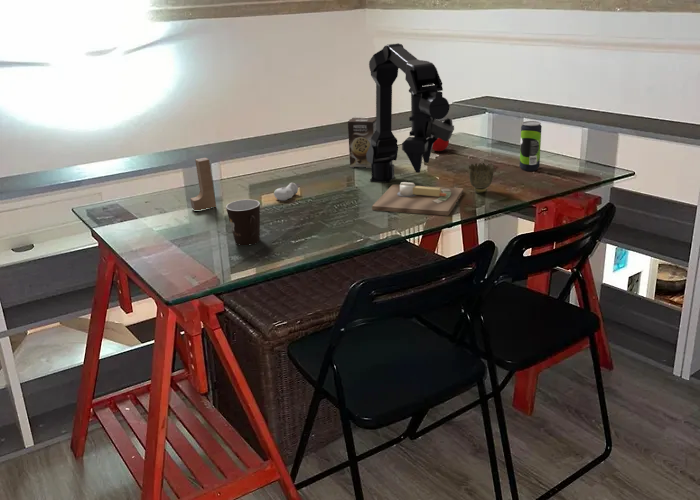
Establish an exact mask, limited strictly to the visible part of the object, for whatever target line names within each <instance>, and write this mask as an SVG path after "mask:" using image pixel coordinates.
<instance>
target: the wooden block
mask: <svg viewBox="0 0 700 500" xmlns="http://www.w3.org/2000/svg"><path fill="white" fill-rule="evenodd" d="M194 162H195V167H196V173H197V181H198V186H199V193H198V194H197V195H196V196H195V197H194V196H193V197H190V199H189V200H190V205H191V209H192V208H193V209H194V210H201V209H206V208H211V207H216V208H217V203H216V197H215V189H214V183H213V177H212V170H211V164H210V163H211V161H210V159H209V158H208V157H200V158H196V159H195V161H194Z"/></svg>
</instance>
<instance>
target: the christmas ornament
mask: <svg viewBox="0 0 700 500" xmlns="http://www.w3.org/2000/svg"><path fill="white" fill-rule="evenodd" d="M449 144H450V139H449V140H448V141H443V140H442V139H440V138H438V139H437V140H436V141H435V142H434V143H433V147H432V150H433V151H435V152H442V151H445V150H446V149H447V148H448V147H449Z"/></svg>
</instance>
